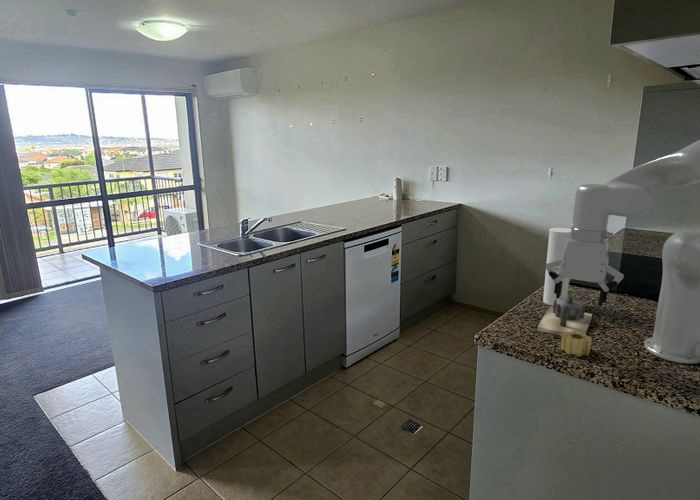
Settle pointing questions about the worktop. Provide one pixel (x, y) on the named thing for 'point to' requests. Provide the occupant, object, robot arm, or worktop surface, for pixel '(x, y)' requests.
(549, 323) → the gear board
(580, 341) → the brass gear
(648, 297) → the worktop surface
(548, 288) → the cylindrical container
